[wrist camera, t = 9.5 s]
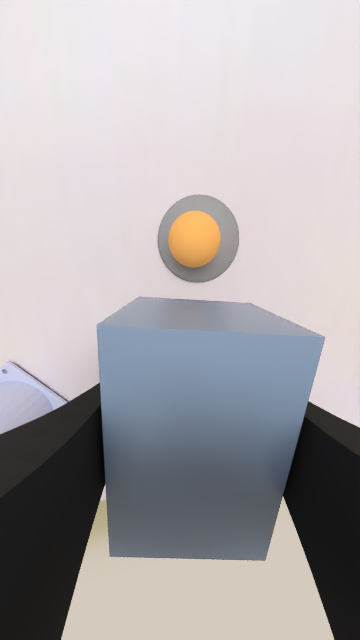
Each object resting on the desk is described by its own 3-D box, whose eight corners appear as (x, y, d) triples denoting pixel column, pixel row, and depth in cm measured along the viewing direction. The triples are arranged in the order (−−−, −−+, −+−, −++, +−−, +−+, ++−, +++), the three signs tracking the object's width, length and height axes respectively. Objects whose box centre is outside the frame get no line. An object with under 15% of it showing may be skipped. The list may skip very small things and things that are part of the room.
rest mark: (198, 297, 18) (198, 297, 17) (141, 242, 16) (141, 242, 16) (254, 239, 16) (255, 238, 16) (197, 175, 15) (198, 174, 15)
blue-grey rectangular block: (229, 440, 12) (265, 560, 7) (138, 436, 12) (109, 556, 7) (250, 303, 10) (325, 337, 5) (139, 296, 10) (96, 325, 5)
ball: (203, 186, 12) (197, 216, 16) (154, 222, 13) (160, 243, 16) (238, 236, 13) (224, 254, 17) (189, 271, 13) (187, 281, 17)
